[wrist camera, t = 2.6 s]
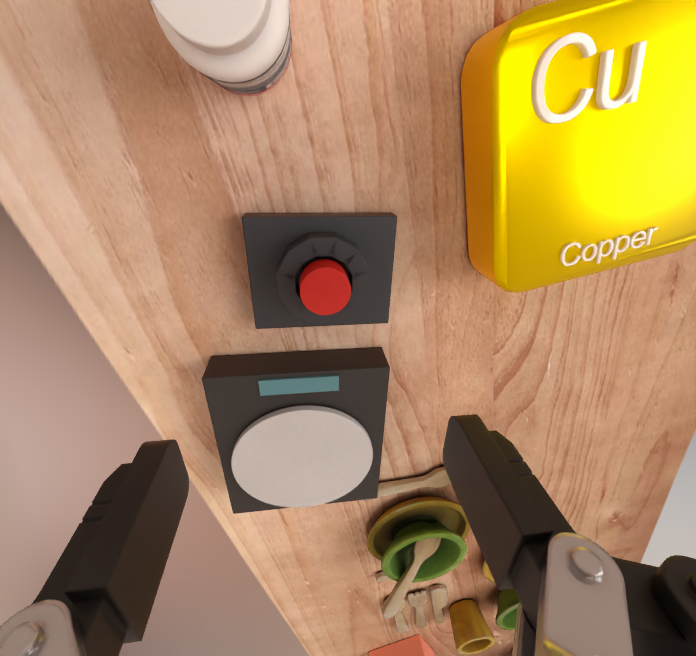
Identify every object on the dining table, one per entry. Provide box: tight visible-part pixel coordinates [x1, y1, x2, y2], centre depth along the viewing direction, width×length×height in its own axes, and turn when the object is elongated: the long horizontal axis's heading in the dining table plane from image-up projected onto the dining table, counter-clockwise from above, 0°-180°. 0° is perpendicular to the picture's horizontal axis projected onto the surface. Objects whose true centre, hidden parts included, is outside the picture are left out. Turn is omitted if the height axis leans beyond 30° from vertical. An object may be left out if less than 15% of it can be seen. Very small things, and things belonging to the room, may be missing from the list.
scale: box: [202, 347, 390, 514], centre depth 30 cm, size 14×16×4 cm
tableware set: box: [360, 467, 520, 655], centre depth 44 cm, size 41×28×6 cm
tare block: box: [242, 213, 397, 329], centre depth 24 cm, size 10×8×3 cm
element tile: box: [461, 0, 696, 292], centre depth 21 cm, size 15×15×5 cm
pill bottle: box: [150, 0, 292, 96], centre depth 14 cm, size 5×5×9 cm
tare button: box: [300, 259, 351, 315], centre depth 22 cm, size 3×3×2 cm
